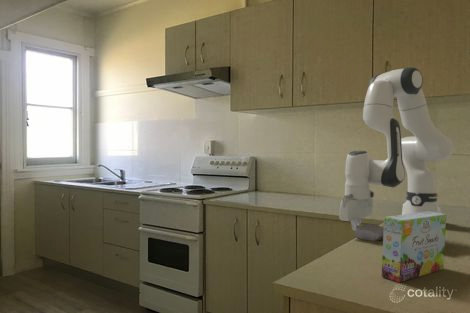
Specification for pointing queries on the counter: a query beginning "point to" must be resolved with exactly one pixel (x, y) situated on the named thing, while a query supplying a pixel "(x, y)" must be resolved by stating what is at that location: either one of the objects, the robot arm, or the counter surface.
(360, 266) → the counter surface
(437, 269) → the snack box
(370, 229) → the stone block
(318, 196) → the counter surface
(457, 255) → the counter surface
